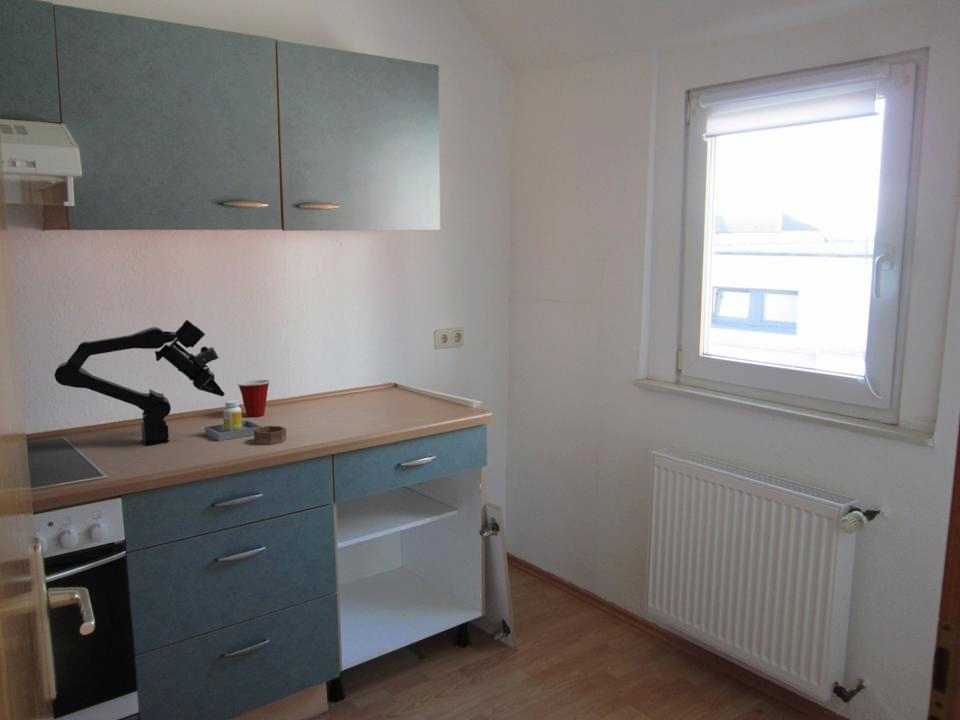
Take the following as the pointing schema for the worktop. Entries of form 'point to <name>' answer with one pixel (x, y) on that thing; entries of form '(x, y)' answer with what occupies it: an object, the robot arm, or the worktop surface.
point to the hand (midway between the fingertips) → (221, 392)
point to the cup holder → (270, 435)
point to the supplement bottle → (232, 416)
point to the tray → (219, 433)
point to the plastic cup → (254, 396)
